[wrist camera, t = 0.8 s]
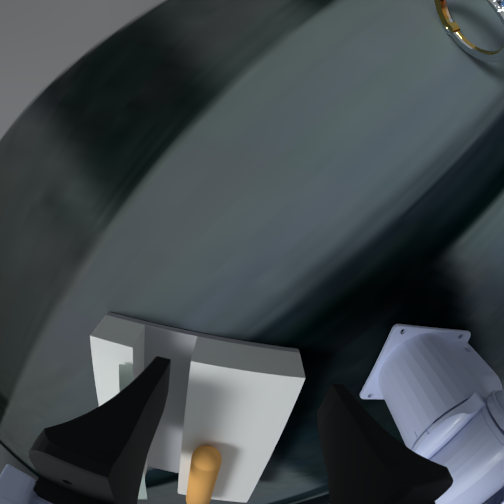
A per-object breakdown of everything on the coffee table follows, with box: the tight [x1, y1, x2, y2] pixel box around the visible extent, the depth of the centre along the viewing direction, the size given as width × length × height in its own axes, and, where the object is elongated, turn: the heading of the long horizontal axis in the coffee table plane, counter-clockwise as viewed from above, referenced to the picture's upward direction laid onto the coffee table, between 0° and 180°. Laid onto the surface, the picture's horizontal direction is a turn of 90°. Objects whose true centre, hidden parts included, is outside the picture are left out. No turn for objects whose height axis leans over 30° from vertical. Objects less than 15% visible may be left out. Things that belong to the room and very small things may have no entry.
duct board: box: [90, 312, 305, 503], centre depth 24 cm, size 15×21×4 cm
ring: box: [435, 0, 504, 62], centre depth 11 cm, size 7×3×8 cm, turn 33°
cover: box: [119, 364, 147, 499], centre depth 18 cm, size 6×10×1 cm
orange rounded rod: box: [186, 445, 222, 504], centre depth 22 cm, size 2×12×2 cm, turn 168°
